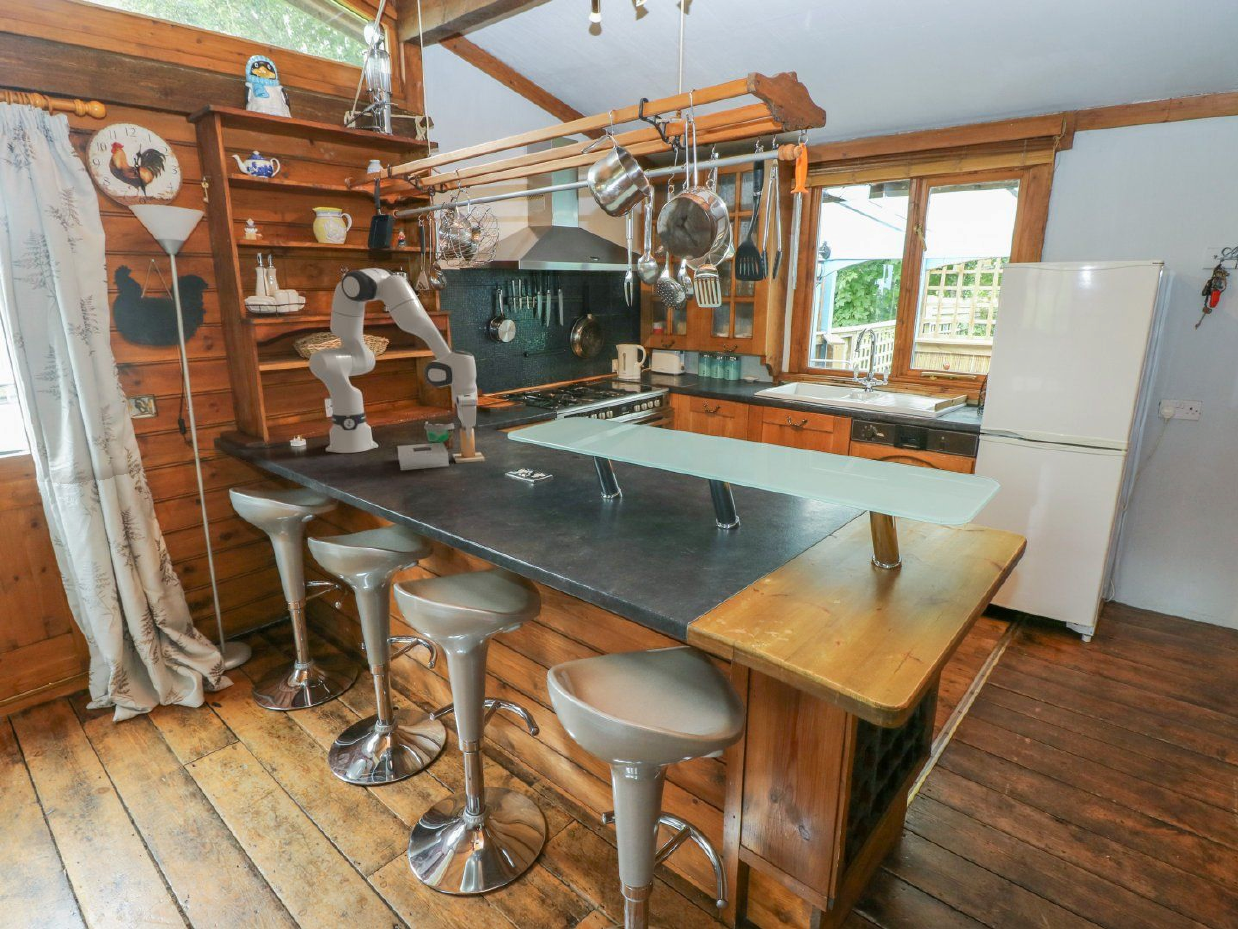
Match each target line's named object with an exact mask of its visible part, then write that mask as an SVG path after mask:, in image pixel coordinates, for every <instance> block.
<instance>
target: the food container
mask: <svg viewBox="0 0 1238 929" xmlns="http://www.w3.org/2000/svg"><path fill="white" fill-rule="evenodd" d="M423 429H424V430H425V431H426V435H427V444H432V443H443V444H444V446H445V448H446V450H447V451H448V450H451V449H453V448H454V447H453V445H454V444H453V442H454V429H456V428H455V425H454V423H453V422H452V423H446V424H444V423H429V422H428V420H427V421H426V422H425V424H424V428H423Z"/></svg>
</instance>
